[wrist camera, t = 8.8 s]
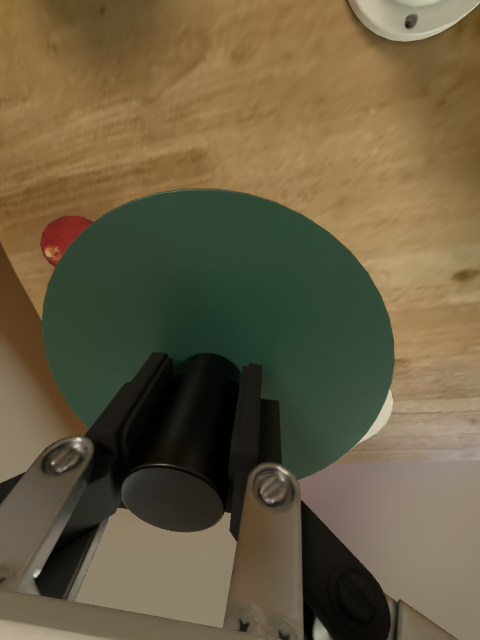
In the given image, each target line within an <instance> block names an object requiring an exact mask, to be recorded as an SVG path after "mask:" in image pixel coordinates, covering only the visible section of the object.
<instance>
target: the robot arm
mask: <svg viewBox="0 0 480 640" xmlns="http://www.w3.org/2000/svg"><path fill="white" fill-rule="evenodd" d="M348 2H349V4H350V6H351V8H352V10H353V12H354V13H355V15H356V16H357V17H358V18H359V20H360V21H361V22H362V23H363V24H364V26H366V27H367V28H368V29H370V30H371V31H372V32H374V33H375V34H377V35H379V36H382V37H384V38H387V39H389V40H395V41H404V42H407V41H415V40H422V39H425V38H428V37H430V36H433V35H436V34H438V33H440V32H442V31H444V30H446V29H447V28H449V27H451V26H452V25H454V24H456V23H457V22H458V21H460V20H461V19H462V18H463V17H464V16H466V15H467V14H468V13H469V12H470V11H472V10H473V9H474V8H475V7H476V6H477V5H478V4H479V3H480V0H348ZM405 24H408V26H409V29H407V28H406V27H405ZM172 380H173V359H172V358H171V357H169V356H168V354H167V353H159V352H153V353H152V354H151V355H150V356H149V358H148V359H147V360H146V362H145V363H144V364H143V366H142V367H141V368H140V370H139V371H138V373H137V374H136V375H135V377H134V378H133V379H132V381H131V382H126V383H125V384H124V385H123V386H122V387H121V388H120V390H119V391H118V392H117V394H116V395H115V396H114V398H113V399H112V400H111V402H110V403H109V404H108V405H107V407H106V408H105V409H104V411H103V412H102V413H101V415H100V416H99V417H98V419H97V420H96V421H95V422H94V424H93V425H92V426H91V428H90V429H89V430H88V432H87V433H86V435H85V436H80V435H79V436H69V437H66V438H63V439H60V440H58V441H56V442H54V443H52V444H51V445H50V446H48V447H47V448H46V449H45V450H44V451H43V452H42V453H41V454H40V455H39V456H38V458H37V459H36V460H35V461H34V462H33V464H32V465H31V466H30V468H29V469H28V470H27V471H26V472H24V473H22V474H20V475H18V476H16V477H13V478H11V479H9V480H7V481H4V482H2V483H0V640H458V639H457V638H455V637H454V636H453V635H451V634H450V633H448V632H446V631H445V630H444V629H442V628H441V627H440V626H438V625H437V624H435V623H434V622H432V621H431V620H429V619H428V618H427V617H425V616H424V615H422V614H421V613H419V612H418V611H417V610H415V609H413V608H412V607H411V606H409V605H408V604H406V603H405V602H404V601H402V600H401V599H399V601H398V602H396V601H395V600H394V599H392V598H391V597H389V596H388V595H386V594H385V593H383V591H382V589H381V587H380V585H379V583H378V582H377V581H376V579H375V578H374V577H373V575H372V574H371V573H370V572H369V571H368V570H367V569H366V568H365V567H364V566H363V564H362V563H360V561H359V560H358V559H357V558H356V557H355V556H354V555H353V554H352V553H351V552H350V551H349V550H348V549H347V548H346V546H344V544H343V543H342V542H341V541H340V540H339V539H338V538H337V537H336V536H335V535H334V534H333V533H332V532H331V531H330V530H329V528H328V527H327V526H326V525H325V524H324V523H323V522H322V521H321V520H320V519H319V518H318V517H317V516H316V515H315V514H314V513H313V512H312V511H311V509H310V508H308V506H307V505H306V504H305V503H304V502H303V501H302V500H301V492H300V487H299V483H298V480H297V478H296V476H295V475H294V474H293V473H292V472H291V471H290V470H289V469H288V468H286V467H285V466H284V465H282V452H281V430H280V408H279V401H278V400H270V399H261V381H262V364H254V363H249V365H248V366H243V369H242V375H241V381H240V388H239V394H238V401H237V407H236V413H235V420H234V426H233V433H232V439H231V446H230V456H229V468H228V481H229V488H228V495H227V502H226V509H225V512H227V513H231V520H230V532H231V534H232V535H233V537H234V538H235V540H236V541H237V546H236V552H235V559H234V565H233V570H232V576H231V582H230V588H229V594H228V601H227V606H226V612H225V619H224V624H223V628H218V627H212V626H207V625H202V624H196V623H191V622H185V621H180V620H174V619H168V618H163V617H158V616H152V615H147V614H141V613H135V612H130V611H124V610H118V609H113V608H107V607H101V606H95V605H89V604H84V603H79V602H75V599H76V597H77V594H78V592H79V590H80V587H81V585H82V583H83V580H84V578H85V576H86V573H87V571H88V568H89V566H90V563H91V561H92V559H93V556H94V554H95V551H96V549H97V547H98V544H99V542H100V539H101V537H102V534H103V532H104V530H105V527H106V525H107V522H108V518H109V517H110V516H111V515H113V514H114V513H115V512H116V510H117V508H125V509H128V508H127V507H126V506H125V504H124V503H123V501H122V499H121V496H120V490H119V489H120V482H121V479H122V477H123V475H124V473H125V471H126V469H127V467H128V465H129V463H130V461H131V459H132V457H133V455H134V454H135V452H136V450H137V448H138V446H139V444H140V442H141V440H142V438H143V436H144V434H145V432H146V430H147V428H148V427H149V425H150V423H151V421H152V419H153V417H154V415H155V413H156V411H157V409H158V407H159V405H160V403H161V402H162V400H163V398H164V396H165V394H166V392H167V390H168V388H169V386H170V384H171V382H172Z"/></svg>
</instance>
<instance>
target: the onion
mask: <svg viewBox="0 0 480 640" xmlns="http://www.w3.org/2000/svg"><path fill="white" fill-rule="evenodd" d="M92 223H93V222H92V221H90V220H88V219H86V218H84V217H80V216H64V217H60V218H58V219H56V220H54V221H52V222H51V223H49V224H48V226H47V227H46V228H45V230H44V231H43V233H42V237H41V243H40V245H41V249H42V252H43V255H44V256H45V258H46V259H47V260H48V262H49V263H50V264H51V265H53V266H54V267H56V265H57V263H58V262H59V260H60V259H61V257H62V256H63V254H64V253H65V251H66V250H67V248H68V247H69V245H70V244H71V243H72V242H73V241H74V240H75V239H76V238H77V237H78V236H79V235H80V234H81V233H82V232H83V230H84V229H85V228H86V227H88V226H89V225H91V224H92Z"/></svg>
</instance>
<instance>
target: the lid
mask: <svg viewBox="0 0 480 640" xmlns="http://www.w3.org/2000/svg"><path fill="white" fill-rule="evenodd" d="M42 331H43V343H44V347H45V352H46V357H47V361H48V363H49V366H50V369H51V372H52V375H53V378H54V380H55V382H56V384H57V386H58V388H59V390H60V391H61V393H62V395H63V396H64V398H65V400H66V401H67V402H68V404H69V406H70V407H71V409H72V410H73V411H74V413H75V414H76V415H77V416H78V417H79V419H80V420H81V421H82V422H83V423H84V424H85V425H86V426H87V427H88V428H89V429H90V428H91V426H92V425H93V424H94V422H95V421H96V420H97V419H98V417H99V416H100V415H101V413H102V412H103V411H104V409H105V408H106V407H107V405H108V404H109V403H110V402H111V400H112V399H113V398H114V396H115V395H116V394H117V392H118V391H119V390H120V388H121V387H122V386H123V385H124V384H125V383H126V382H131V381H132V379H133V378H134V377H135V375H136V374H137V373H138V371H139V370H140V368H141V367H142V366H143V364H144V363H145V362H146V360H147V359H148V358H149V356H150V355H151V354H152V353H153V352H159V353H167V354H168V356H169V357H171V358H172V359H173V380H172V382H171V384H170V386H169V388H168V390H167V392H166V394H165V396H164V398H163V400H162V402H161V403H160V405H159V407H158V409H157V411H156V413H155V415H154V417H153V419H152V421H151V423H150V425H149V427H148V428H147V430H146V432H145V434H144V436H143V438H142V440H141V442H140V444H139V446H138V448H137V450H136V452H135V454H134V455H133V457H132V459H131V461H130V463H129V465H128V467H127V469H126V471H125V473H124V475H123V477H122V479H121V482H120V489H119V490H120V496H121V499H122V501H123V503H124V504H125V506H126V507H127V508H128V509H129V510H130V511H131V512H132V513H133V514H134V515H136V516H137V517H138V518H140V519H141V520H143V521H145V522H147V523H149V524H151V525H153V526H156V527H159V528H162V529H165V530H170V531H176V532H196V531H201V530H205V529H208V528H210V527H212V526H214V525H215V524H216V523H217V522H219V521H220V519H221V518H222V516H223V514H224V512H225V509H226V502H227V495H228V488H229V481H228V468H229V456H230V446H231V439H232V433H233V426H234V420H235V413H236V407H237V401H238V394H239V388H240V381H241V375H242V369H243V366H248V365H249V363H254V364H262V381H261V399H270V400H278V401H279V408H280V430H281V452H282V465H284V466H285V467H286V468H288V469H289V470H290V471H291V472H292V473H293V474H294V475H295V476H296V478H297V480H299V479H302V478H305V477H307V476H310V475H312V474H314V473H316V472H318V471H320V470H322V469H324V468H326V467H328V466H329V465H331V464H333V463H334V462H336V461H337V460H339V459H340V458H342V457H343V456H344V455H345V454H347V453H348V452H349V451H350V450H351V449H353V448H354V447H355V446H356V445H357V444H358V443H359V442H360V440H361V439H362V438H363V437H364V436H365V435H366V434H367V433H368V431H369V430H370V428H371V427H372V426H373V424H374V423H375V421H376V420H377V418H378V416H379V414H380V412H381V410H382V408H383V406H384V404H385V402H386V400H387V396H388V393H389V390H390V387H391V383H392V377H393V370H394V362H395V359H394V338H393V333H392V328H391V323H390V318H389V315H388V313H387V310H386V307H385V305H384V302H383V300H382V297H381V295H380V293H379V291H378V289H377V288H376V286H375V284H374V283H373V281H372V279H371V277H370V276H369V274H368V272H367V271H366V270H365V269H364V267H363V266H362V265H361V264H360V263H359V261H358V260H357V259H356V258H355V256H354V255H353V254H352V253H351V252H350V251H349V250H348V249H347V248H346V247H345V246H344V245H343V244H342V243H340V242H339V241H338V240H337V239H336V238H335V237H334V236H333V235H332V234H330V233H329V232H328V231H327V230H325V229H324V228H322V227H320V226H319V225H317V224H316V223H314V222H313V221H311V220H310V219H308V218H307V217H305V216H304V215H302V214H300V213H298V212H296V211H294V210H292V209H290V208H287V207H285V206H283V205H281V204H279V203H277V202H274V201H271V200H267V199H264V198H261V197H258V196H254V195H251V194H248V193H241V192H235V191H228V190H222V189H179V190H173V191H166V192H159V193H155V194H151V195H148V196H145V197H142V198H138V199H135V200H132V201H129V202H127V203H125V204H123V205H121V206H119V207H117V208H115V209H113V210H111V211H109V212H107V213H106V214H104V215H103V216H101V217H100V218H99V219H97V220H96V221H95V222H93V223H92V224H91V225H89V226H88V227H86V228H85V229H84V230H83V232H82V233H81V234H80V235H79V236H78V237H77V238H76V239H75V240H74V241H73V242H72V243H71V244H70V245H69V247H68V248H67V250H66V251H65V253H64V254H63V256H62V257H61V259H60V260H59V262H58V263H57V265H56V267H55V269H54V272H53V274H52V276H51V279H50V281H49V283H48V287H47V291H46V295H45V299H44V303H43V315H42Z"/></svg>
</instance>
